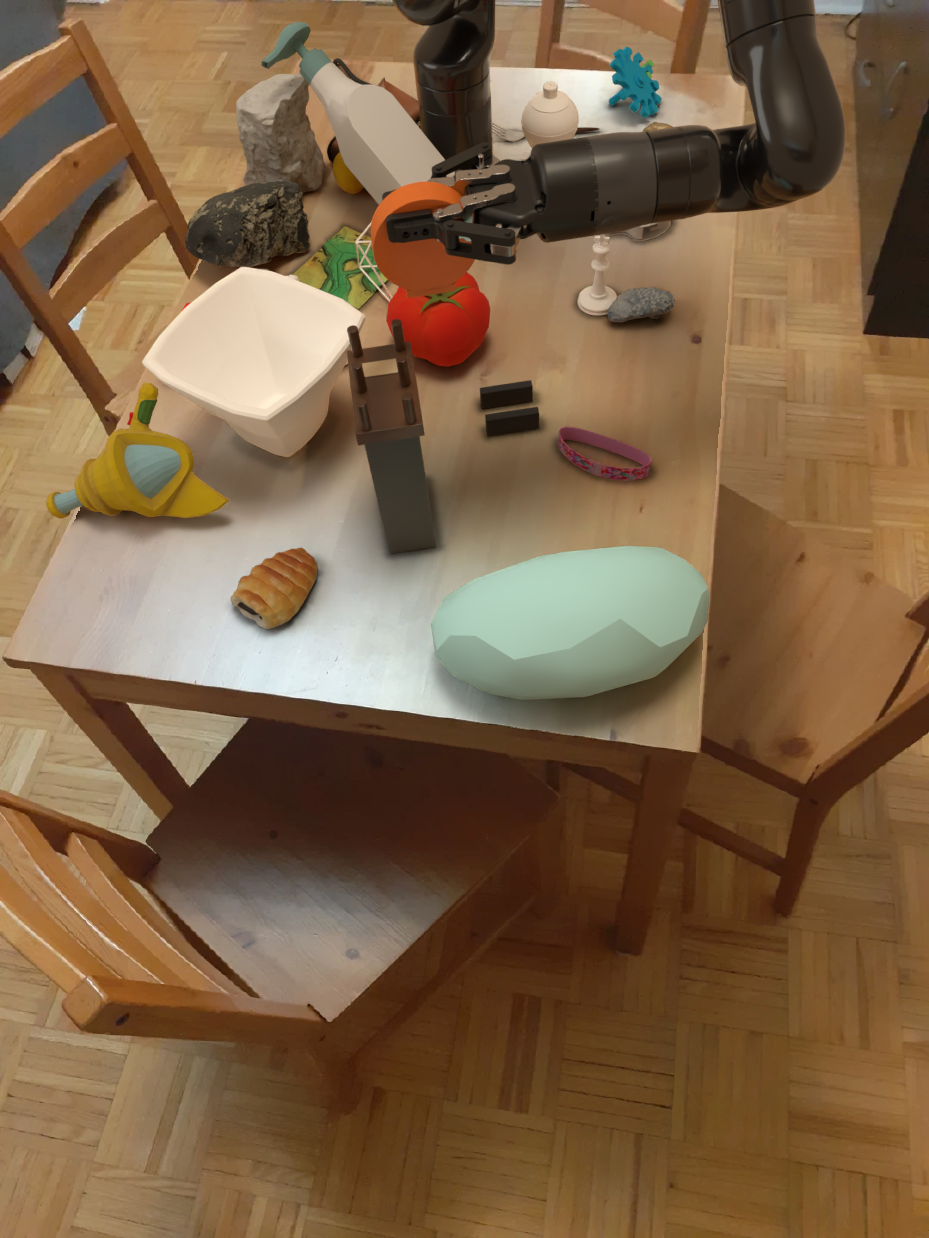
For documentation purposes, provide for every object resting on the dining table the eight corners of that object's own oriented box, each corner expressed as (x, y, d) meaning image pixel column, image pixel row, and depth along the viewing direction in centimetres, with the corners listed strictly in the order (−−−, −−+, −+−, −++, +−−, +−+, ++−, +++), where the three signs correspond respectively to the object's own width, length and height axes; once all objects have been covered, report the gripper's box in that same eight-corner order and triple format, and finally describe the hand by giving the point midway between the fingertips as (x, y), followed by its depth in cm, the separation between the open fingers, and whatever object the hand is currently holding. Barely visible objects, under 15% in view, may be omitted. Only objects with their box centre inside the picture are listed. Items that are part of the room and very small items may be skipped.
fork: (599, 137, 134) (600, 124, 132) (489, 143, 135) (488, 130, 133) (598, 127, 135) (599, 113, 133) (489, 133, 136) (488, 120, 134)
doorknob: (391, 201, 127) (400, 177, 132) (369, 143, 122) (379, 119, 127) (342, 216, 129) (352, 191, 135) (318, 159, 124) (329, 136, 129)
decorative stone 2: (675, 766, 88) (766, 633, 78) (423, 725, 82) (487, 573, 72) (640, 665, 99) (716, 536, 89) (416, 621, 93) (471, 477, 83)
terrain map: (344, 224, 126) (344, 227, 127) (288, 276, 122) (289, 279, 122) (413, 252, 122) (413, 255, 123) (358, 307, 118) (359, 310, 118)
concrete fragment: (239, 193, 130) (192, 285, 128) (206, 139, 120) (155, 238, 118) (329, 219, 126) (283, 314, 124) (303, 166, 116) (252, 268, 114)
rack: (412, 353, 88) (406, 316, 84) (424, 436, 82) (419, 399, 79) (349, 362, 88) (340, 325, 84) (357, 445, 82) (349, 410, 79)
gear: (647, 123, 132) (607, 59, 128) (616, 146, 136) (577, 84, 133) (675, 93, 138) (638, 31, 134) (645, 116, 142) (608, 56, 139)
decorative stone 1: (284, 155, 136) (260, 52, 123) (336, 172, 133) (317, 69, 121) (242, 195, 132) (213, 94, 119) (295, 214, 129) (271, 111, 116)
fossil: (603, 312, 116) (613, 339, 113) (601, 290, 113) (611, 318, 110) (669, 295, 115) (680, 322, 113) (669, 272, 112) (680, 299, 110)
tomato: (388, 314, 117) (379, 257, 110) (486, 303, 117) (483, 245, 110) (393, 387, 110) (383, 331, 103) (497, 375, 110) (495, 318, 103)
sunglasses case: (380, 173, 131) (352, 130, 127) (347, 188, 136) (318, 147, 132) (432, 103, 139) (407, 60, 135) (398, 120, 144) (373, 79, 140)
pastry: (287, 546, 100) (279, 525, 96) (336, 574, 97) (329, 554, 94) (228, 609, 96) (218, 589, 93) (277, 640, 94) (268, 621, 90)
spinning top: (586, 163, 131) (590, 77, 120) (559, 193, 128) (561, 107, 117) (539, 148, 133) (539, 63, 123) (511, 178, 130) (509, 92, 120)
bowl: (302, 518, 101) (271, 430, 89) (169, 452, 107) (124, 362, 95) (397, 406, 109) (381, 312, 97) (269, 351, 115) (238, 255, 103)
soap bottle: (398, 248, 125) (254, 77, 119) (443, 209, 126) (302, 37, 120) (411, 221, 114) (254, 31, 109) (459, 178, 115) (306, -13, 109)
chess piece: (614, 317, 114) (621, 248, 106) (574, 314, 115) (578, 245, 107) (619, 290, 117) (626, 220, 108) (580, 287, 118) (584, 217, 109)
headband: (548, 459, 103) (548, 445, 102) (563, 435, 105) (563, 421, 103) (639, 491, 100) (642, 477, 98) (653, 466, 102) (655, 452, 100)
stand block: (426, 481, 103) (407, 359, 88) (436, 547, 98) (418, 430, 83) (381, 488, 103) (355, 367, 87) (389, 554, 98) (362, 438, 83)
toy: (-10, 440, 96) (53, 573, 100) (149, 371, 91) (211, 513, 94) (47, 431, 106) (103, 553, 109) (194, 368, 101) (249, 498, 104)
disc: (478, 269, 84) (471, 173, 76) (482, 287, 82) (475, 191, 74) (379, 285, 83) (362, 190, 75) (381, 302, 82) (364, 208, 74)
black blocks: (531, 395, 109) (531, 379, 106) (539, 428, 106) (539, 413, 104) (480, 403, 108) (479, 387, 106) (487, 436, 106) (486, 420, 104)
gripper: (576, 95, 77) (370, 126, 77) (614, 197, 70) (387, 232, 70) (573, 178, 84) (383, 207, 83) (607, 279, 76) (399, 311, 76)
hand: (386, 218), depth 76 cm, fingers closed on disc, 2 cm apart
